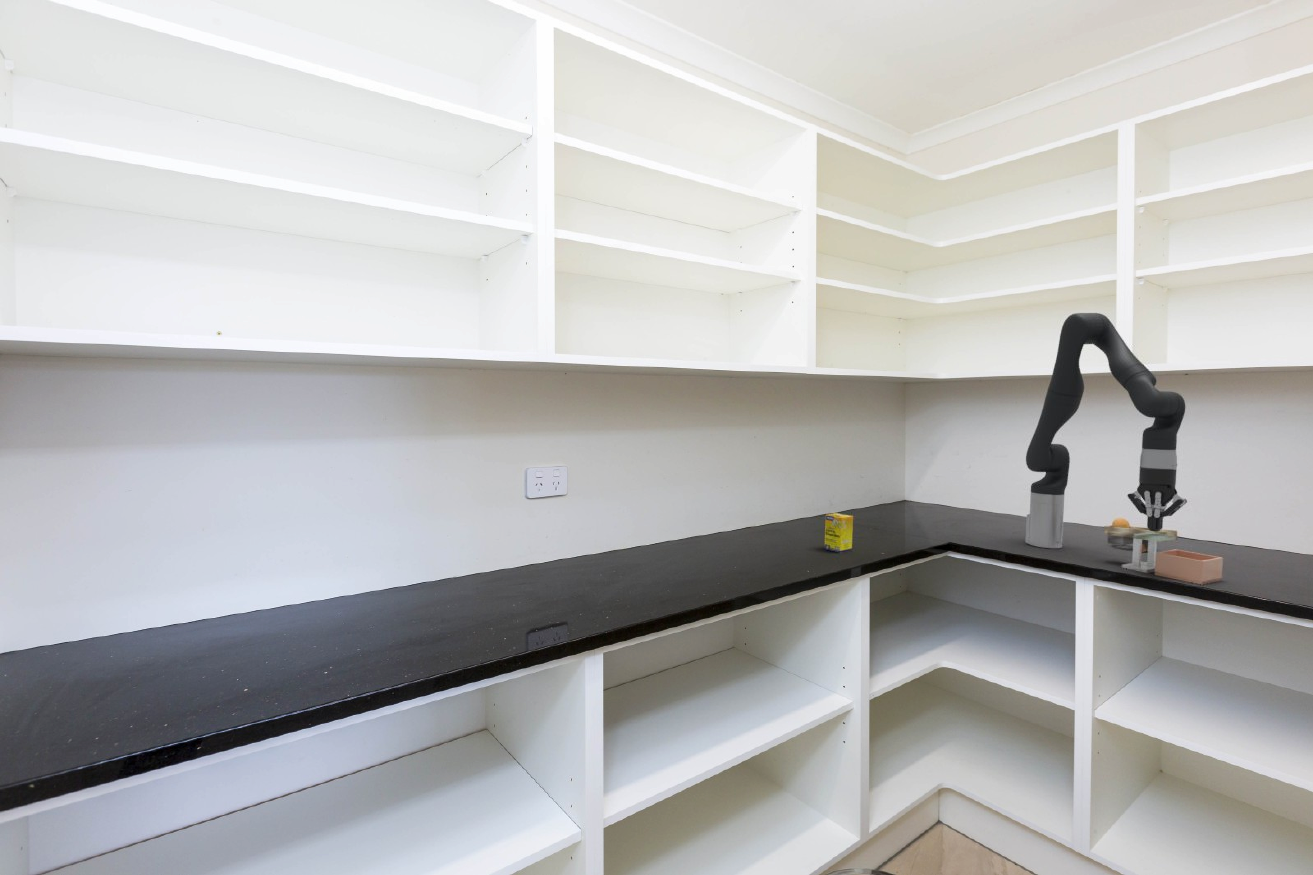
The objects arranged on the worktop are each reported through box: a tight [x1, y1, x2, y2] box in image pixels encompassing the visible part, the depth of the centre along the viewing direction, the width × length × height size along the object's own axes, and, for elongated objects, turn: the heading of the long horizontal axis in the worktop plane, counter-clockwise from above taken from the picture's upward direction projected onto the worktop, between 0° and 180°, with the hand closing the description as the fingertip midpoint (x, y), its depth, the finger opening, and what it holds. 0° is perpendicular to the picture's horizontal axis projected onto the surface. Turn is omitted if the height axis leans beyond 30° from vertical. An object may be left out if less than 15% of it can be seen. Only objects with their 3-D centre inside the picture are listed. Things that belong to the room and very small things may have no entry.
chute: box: [1103, 524, 1178, 546], centre depth 167 cm, size 17×13×5 cm
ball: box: [1111, 517, 1131, 528], centre depth 173 cm, size 4×4×4 cm
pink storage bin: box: [1154, 548, 1224, 586], centre depth 159 cm, size 10×10×6 cm
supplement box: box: [824, 512, 854, 554], centre depth 185 cm, size 6×6×11 cm
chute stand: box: [1121, 533, 1158, 574], centre depth 168 cm, size 6×10×10 cm, turn 116°
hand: (1154, 530), depth 160 cm, fingers closed
